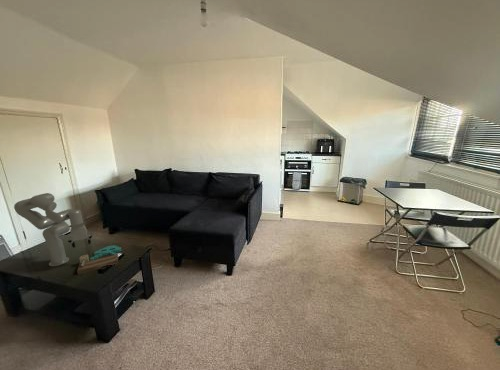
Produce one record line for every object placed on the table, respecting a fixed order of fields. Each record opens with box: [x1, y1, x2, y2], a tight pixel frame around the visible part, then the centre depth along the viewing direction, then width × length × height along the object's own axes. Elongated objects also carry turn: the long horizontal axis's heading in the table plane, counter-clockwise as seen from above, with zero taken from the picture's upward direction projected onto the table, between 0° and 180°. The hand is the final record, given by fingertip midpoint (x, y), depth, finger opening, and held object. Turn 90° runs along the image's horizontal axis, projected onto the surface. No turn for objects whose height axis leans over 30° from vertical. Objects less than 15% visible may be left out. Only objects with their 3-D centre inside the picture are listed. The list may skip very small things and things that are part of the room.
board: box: [76, 254, 119, 275], centre depth 170 cm, size 12×26×3 cm, turn 122°
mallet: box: [79, 254, 90, 267], centre depth 168 cm, size 14×5×7 cm, turn 32°
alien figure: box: [89, 244, 122, 261], centre depth 190 cm, size 20×2×20 cm
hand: (82, 245), depth 169 cm, fingers open, 9 cm apart
